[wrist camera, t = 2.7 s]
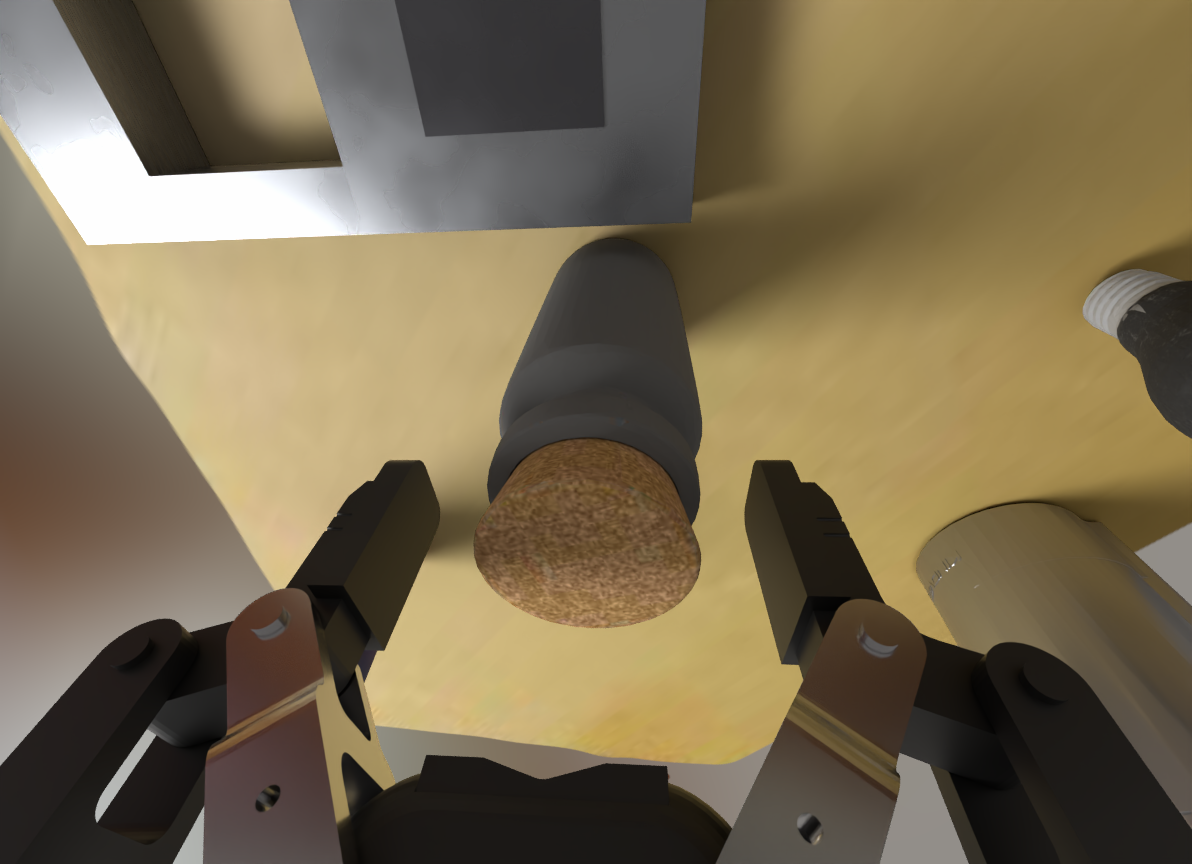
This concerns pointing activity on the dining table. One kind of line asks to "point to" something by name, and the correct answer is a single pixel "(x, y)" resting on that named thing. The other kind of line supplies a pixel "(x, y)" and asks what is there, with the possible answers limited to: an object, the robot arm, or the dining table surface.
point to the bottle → (598, 450)
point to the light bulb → (1151, 334)
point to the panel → (374, 120)
